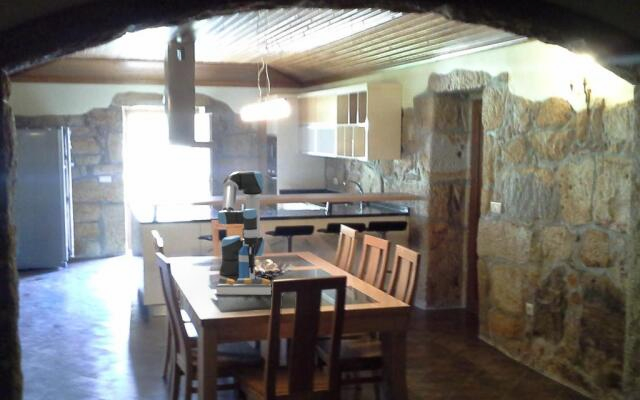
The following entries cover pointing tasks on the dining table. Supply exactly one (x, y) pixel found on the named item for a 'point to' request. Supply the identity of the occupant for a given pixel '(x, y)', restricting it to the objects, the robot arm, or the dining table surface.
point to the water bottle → (244, 262)
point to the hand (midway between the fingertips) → (252, 278)
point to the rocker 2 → (244, 280)
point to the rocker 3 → (262, 280)
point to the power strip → (244, 288)
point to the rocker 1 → (226, 280)
